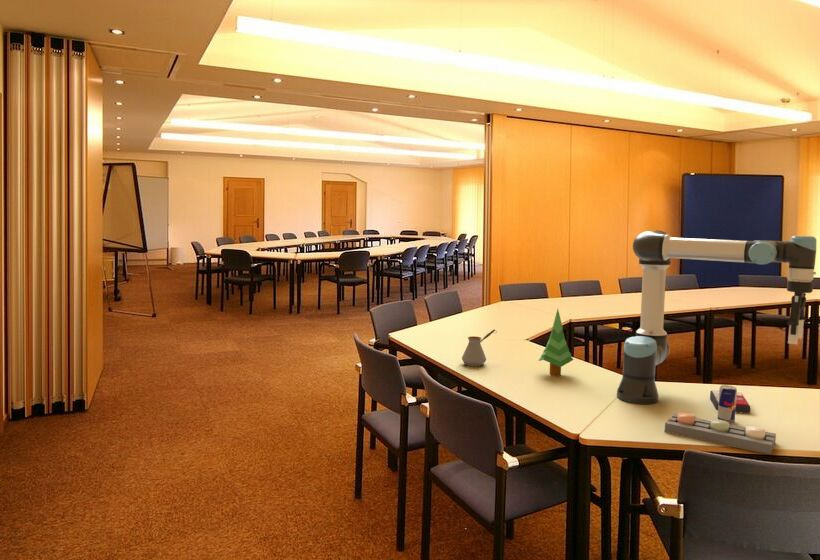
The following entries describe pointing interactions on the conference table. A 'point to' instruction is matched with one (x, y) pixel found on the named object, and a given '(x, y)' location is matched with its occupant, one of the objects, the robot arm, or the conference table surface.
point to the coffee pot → (475, 351)
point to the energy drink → (727, 403)
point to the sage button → (719, 425)
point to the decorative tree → (556, 348)
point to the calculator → (740, 402)
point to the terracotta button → (686, 418)
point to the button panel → (721, 435)
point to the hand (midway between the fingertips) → (795, 340)
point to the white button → (755, 432)
